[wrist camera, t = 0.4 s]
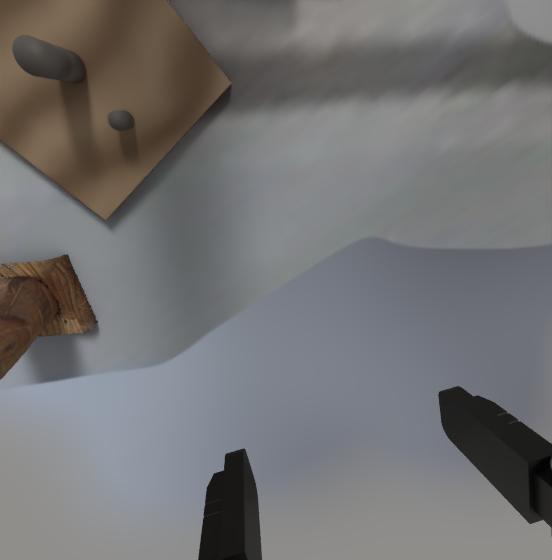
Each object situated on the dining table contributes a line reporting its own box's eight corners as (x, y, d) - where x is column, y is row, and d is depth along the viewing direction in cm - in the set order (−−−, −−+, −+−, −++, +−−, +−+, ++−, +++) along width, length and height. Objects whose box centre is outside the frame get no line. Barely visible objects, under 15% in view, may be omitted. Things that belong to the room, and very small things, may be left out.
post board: (-101, 51, 25) (-215, 31, 19) (25, -181, 20) (-70, -315, 14) (110, 216, 34) (82, 240, 28) (231, 84, 29) (232, 76, 23)
